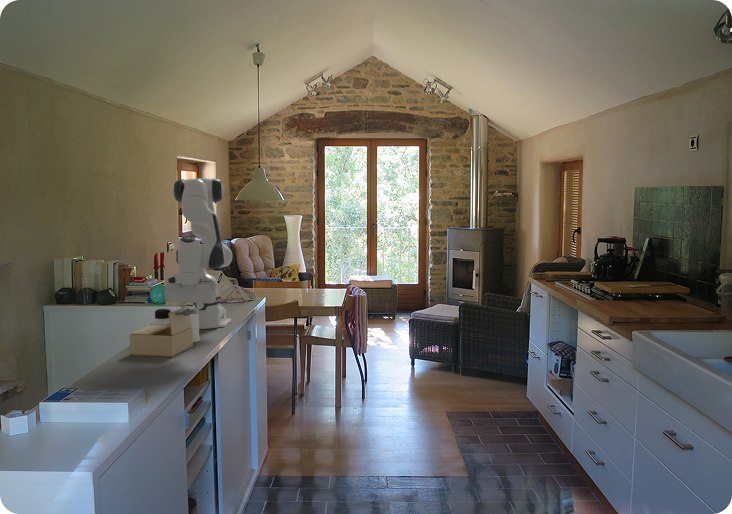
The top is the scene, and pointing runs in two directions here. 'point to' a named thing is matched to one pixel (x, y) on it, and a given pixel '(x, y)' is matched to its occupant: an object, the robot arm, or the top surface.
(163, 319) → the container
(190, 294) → the robot arm
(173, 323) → the near flap
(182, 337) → the carton
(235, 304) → the top surface
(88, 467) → the top surface
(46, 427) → the top surface
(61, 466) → the top surface
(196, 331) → the mug
